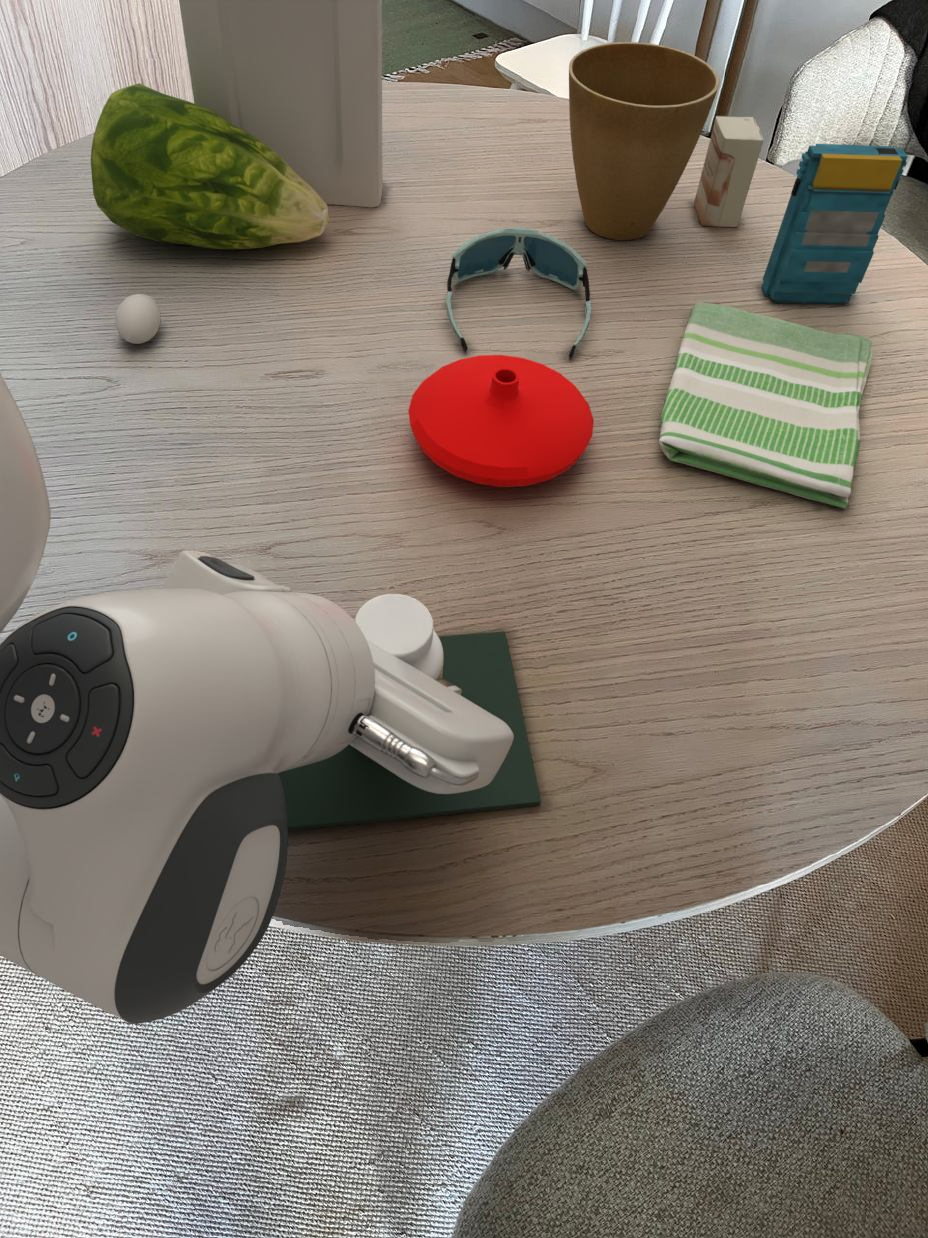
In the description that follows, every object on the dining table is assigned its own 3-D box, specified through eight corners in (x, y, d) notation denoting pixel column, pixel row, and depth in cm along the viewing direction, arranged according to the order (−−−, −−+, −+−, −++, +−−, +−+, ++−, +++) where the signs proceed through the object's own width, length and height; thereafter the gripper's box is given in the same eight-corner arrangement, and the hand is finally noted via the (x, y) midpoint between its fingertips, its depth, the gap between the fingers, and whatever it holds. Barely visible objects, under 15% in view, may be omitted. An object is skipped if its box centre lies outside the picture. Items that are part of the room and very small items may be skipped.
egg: (171, 319, 94) (163, 283, 91) (154, 357, 90) (146, 321, 87) (131, 315, 94) (122, 279, 91) (112, 354, 90) (103, 317, 87)
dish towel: (868, 356, 97) (879, 332, 94) (851, 516, 82) (863, 492, 80) (690, 314, 99) (697, 290, 97) (644, 461, 85) (650, 437, 83)
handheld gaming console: (845, 285, 104) (903, 144, 92) (857, 308, 102) (918, 166, 90) (756, 283, 103) (803, 141, 92) (765, 306, 101) (815, 163, 89)
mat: (259, 834, 61) (258, 830, 61) (256, 654, 70) (255, 650, 70) (540, 805, 64) (541, 801, 63) (504, 635, 72) (505, 631, 72)
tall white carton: (390, 143, 118) (391, -144, 96) (379, 207, 108) (377, -94, 86) (230, 130, 117) (194, -161, 95) (205, 194, 108) (159, -113, 86)
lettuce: (307, 315, 102) (322, 211, 91) (79, 248, 99) (66, 132, 88) (334, 227, 110) (352, 120, 98) (122, 162, 106) (116, 44, 95)
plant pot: (670, 191, 114) (704, 43, 102) (692, 262, 105) (733, 109, 93) (543, 185, 114) (562, 35, 101) (554, 256, 104) (577, 101, 92)
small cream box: (692, 203, 113) (714, 113, 105) (729, 204, 113) (755, 115, 105) (700, 227, 110) (724, 136, 102) (738, 228, 110) (765, 138, 102)
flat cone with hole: (465, 363, 92) (470, 297, 87) (617, 426, 88) (633, 361, 82) (372, 458, 83) (371, 391, 78) (536, 533, 79) (547, 468, 73)
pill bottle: (327, 723, 66) (318, 621, 57) (393, 670, 69) (393, 566, 60) (392, 781, 64) (393, 683, 55) (457, 723, 67) (467, 623, 58)
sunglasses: (583, 271, 103) (591, 230, 98) (588, 375, 95) (597, 336, 91) (448, 262, 102) (450, 220, 98) (442, 366, 95) (444, 326, 90)
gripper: (482, 731, 45) (562, 704, 58) (160, 534, 52) (296, 549, 65) (423, 846, 46) (514, 795, 59) (115, 639, 53) (257, 633, 66)
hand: (398, 665), depth 62 cm, fingers closed on pill bottle, 6 cm apart
